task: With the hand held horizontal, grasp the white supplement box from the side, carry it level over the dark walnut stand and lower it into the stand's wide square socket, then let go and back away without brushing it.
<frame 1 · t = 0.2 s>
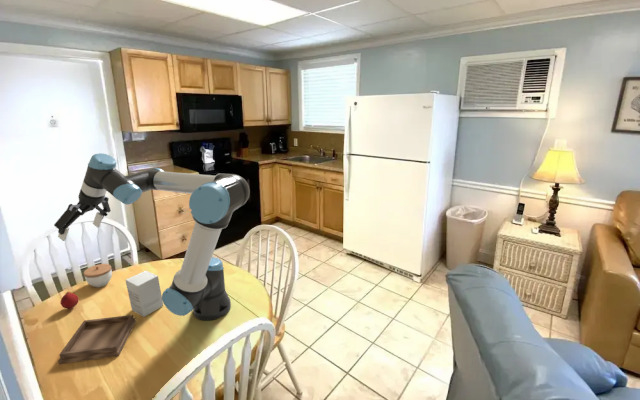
hand: (79, 231, 122), 35 cm above the table, tool tilted 35°, fingers open, 13 cm apart
onion: (71, 308, 131), on the table
supplement box: (147, 308, 132), on the table
walnut stand: (101, 340, 114), on the table
lidded jar: (100, 284, 149), on the table
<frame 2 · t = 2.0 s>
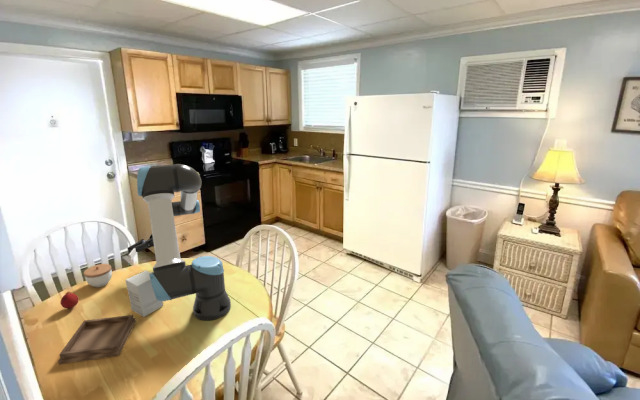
hand: (147, 256, 135), 19 cm above the table, tool horizontal, fingers open, 13 cm apart
nothing on the table moved.
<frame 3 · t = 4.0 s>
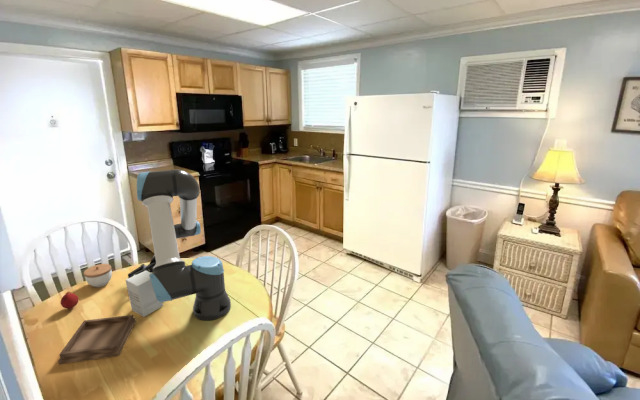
hand: (147, 283, 135), 8 cm above the table, tool horizontal, fingers open, 13 cm apart
nothing on the table moved.
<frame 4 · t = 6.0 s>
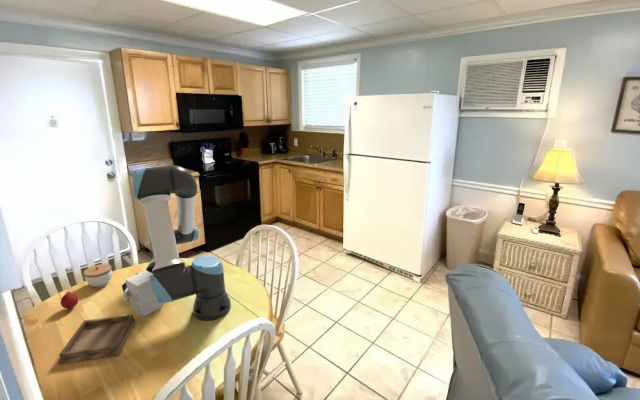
hand: (141, 295, 126), 9 cm above the table, tool horizontal, fingers closed on supplement box, 12 cm apart
supplement box: (147, 308, 132), on the table, touching gripper
everything else where it was.
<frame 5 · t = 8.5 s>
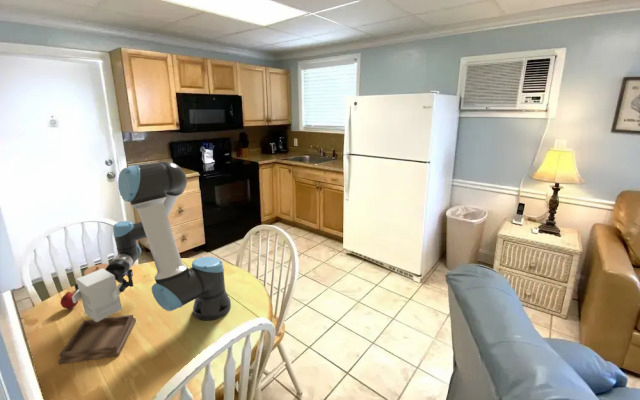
hand: (94, 298, 109), 18 cm above the table, tool horizontal, fingers closed on supplement box, 12 cm apart
supplement box: (103, 312, 115), point 9 cm above the table, touching gripper
everything else where it was.
when the fingers open (11 cm above the table, at t = 11.1 s): supplement box stays where it is, resting on walnut stand.
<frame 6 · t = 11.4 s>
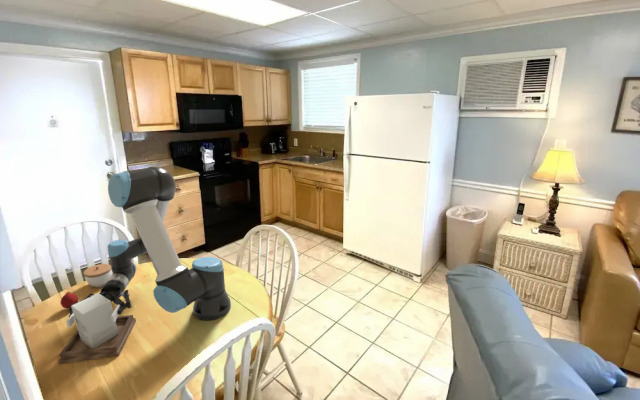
hand: (90, 321, 108), 11 cm above the table, tool horizontal, fingers open, 13 cm apart
supplement box: (99, 337, 114), point 1 cm above the table, touching walnut stand
everything else where it was.
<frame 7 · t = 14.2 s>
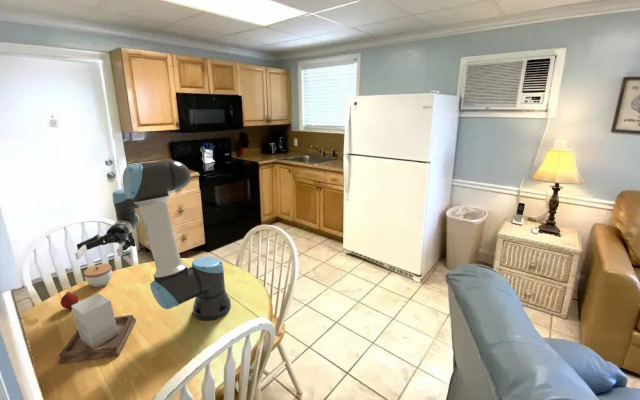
hand: (97, 254, 115), 30 cm above the table, tool horizontal, fingers open, 13 cm apart
nothing on the table moved.
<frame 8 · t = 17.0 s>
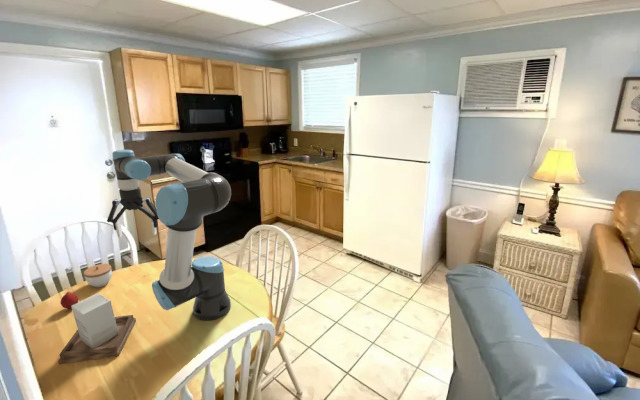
hand: (137, 235, 134), 29 cm above the table, tool pointing down, fingers open, 13 cm apart
nothing on the table moved.
at the end: supplement box inside the target area on the walnut stand (0.2 cm from its centre), point 1.3 cm above the walnut stand's base; supplement box tilted 0°; the gripper is holding nothing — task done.
